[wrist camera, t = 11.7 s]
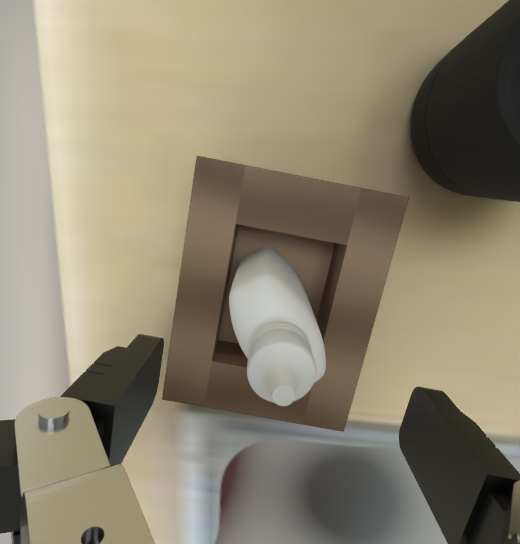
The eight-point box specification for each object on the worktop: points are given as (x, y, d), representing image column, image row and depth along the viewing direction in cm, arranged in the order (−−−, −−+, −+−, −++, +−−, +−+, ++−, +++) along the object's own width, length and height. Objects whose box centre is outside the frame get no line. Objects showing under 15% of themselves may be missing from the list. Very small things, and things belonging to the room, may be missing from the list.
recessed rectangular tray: (209, 161, 22) (196, 155, 18) (383, 195, 22) (409, 197, 18) (178, 366, 25) (162, 399, 21) (331, 394, 25) (343, 431, 22)
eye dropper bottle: (240, 330, 23) (215, 472, 12) (239, 245, 22) (209, 308, 10) (308, 331, 23) (350, 474, 12) (310, 245, 22) (360, 309, 10)
